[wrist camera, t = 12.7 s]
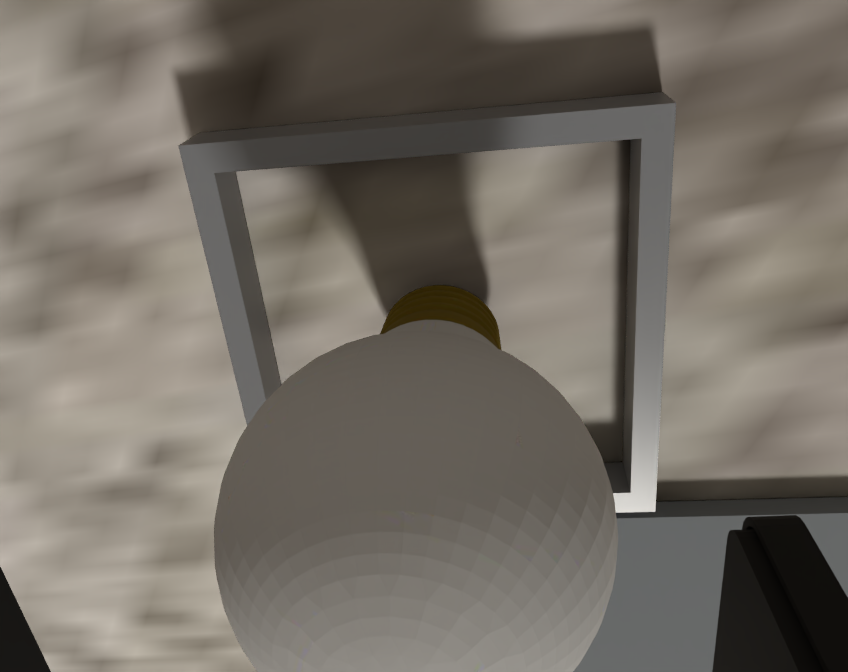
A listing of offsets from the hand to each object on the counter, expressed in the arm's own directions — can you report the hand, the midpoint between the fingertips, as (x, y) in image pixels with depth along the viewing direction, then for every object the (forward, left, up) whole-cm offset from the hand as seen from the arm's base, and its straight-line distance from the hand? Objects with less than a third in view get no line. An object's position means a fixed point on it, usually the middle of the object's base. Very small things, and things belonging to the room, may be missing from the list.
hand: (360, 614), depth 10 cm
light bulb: (-1, 0, -9) cm, 9 cm away
